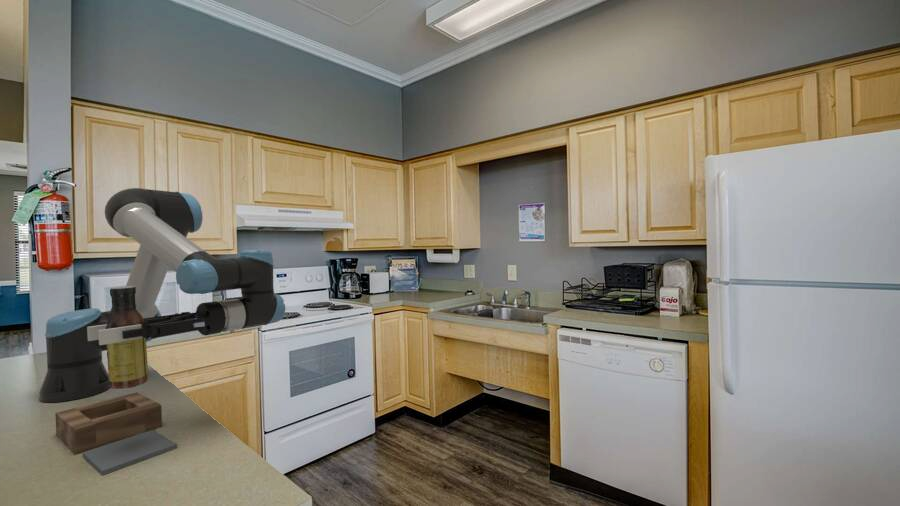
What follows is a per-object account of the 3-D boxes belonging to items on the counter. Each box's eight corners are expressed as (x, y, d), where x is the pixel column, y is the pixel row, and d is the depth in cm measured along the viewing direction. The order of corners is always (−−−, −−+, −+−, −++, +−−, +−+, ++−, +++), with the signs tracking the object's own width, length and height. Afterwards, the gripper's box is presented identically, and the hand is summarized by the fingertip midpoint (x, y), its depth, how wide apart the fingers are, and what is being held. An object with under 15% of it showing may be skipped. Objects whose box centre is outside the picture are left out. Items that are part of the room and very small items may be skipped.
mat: (82, 456, 81) (82, 452, 81) (153, 433, 91) (153, 429, 91) (102, 475, 74) (102, 471, 74) (176, 447, 84) (176, 443, 84)
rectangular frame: (56, 435, 91) (55, 413, 91) (137, 412, 103) (136, 392, 103) (75, 454, 82) (74, 429, 82) (162, 426, 94) (161, 404, 94)
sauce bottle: (123, 381, 85) (119, 285, 85) (155, 379, 86) (151, 284, 86) (99, 392, 79) (94, 288, 79) (134, 389, 79) (129, 287, 79)
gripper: (241, 336, 91) (111, 362, 72) (201, 328, 102) (79, 349, 84) (239, 303, 91) (109, 320, 72) (200, 298, 102) (77, 312, 83)
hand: (93, 335), depth 78 cm, fingers closed on sauce bottle, 6 cm apart
